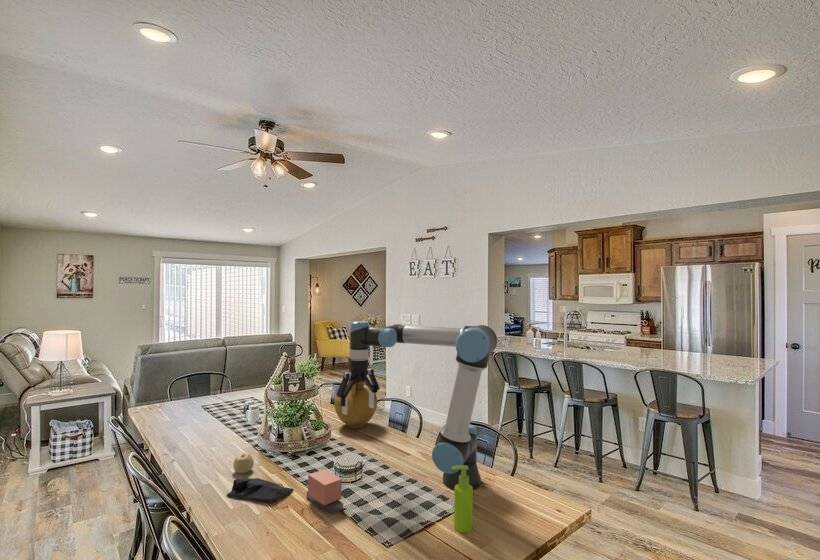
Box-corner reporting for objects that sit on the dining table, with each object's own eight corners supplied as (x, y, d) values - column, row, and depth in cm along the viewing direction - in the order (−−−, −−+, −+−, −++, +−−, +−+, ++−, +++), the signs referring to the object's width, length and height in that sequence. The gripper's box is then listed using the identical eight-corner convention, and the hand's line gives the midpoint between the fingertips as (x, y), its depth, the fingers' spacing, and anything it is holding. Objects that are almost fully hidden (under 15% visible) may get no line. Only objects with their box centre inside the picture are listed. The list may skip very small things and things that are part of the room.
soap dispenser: (449, 523, 144) (450, 462, 144) (470, 522, 144) (470, 462, 145) (452, 533, 138) (453, 470, 138) (474, 532, 139) (474, 469, 139)
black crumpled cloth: (269, 510, 151) (269, 496, 151) (222, 496, 160) (222, 484, 160) (297, 491, 165) (297, 478, 165) (253, 479, 174) (253, 468, 174)
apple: (257, 466, 185) (257, 454, 181) (244, 481, 178) (244, 469, 174) (243, 458, 187) (242, 446, 183) (229, 472, 180) (228, 460, 177)
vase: (375, 433, 228) (375, 376, 228) (329, 432, 228) (330, 375, 228) (378, 419, 251) (379, 367, 252) (337, 418, 252) (338, 367, 252)
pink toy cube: (341, 505, 154) (341, 479, 154) (324, 512, 149) (324, 485, 149) (324, 494, 162) (324, 469, 162) (307, 500, 157) (308, 474, 157)
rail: (343, 509, 151) (343, 503, 151) (330, 514, 148) (330, 508, 148) (318, 492, 163) (318, 487, 163) (306, 497, 160) (306, 491, 160)
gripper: (377, 354, 189) (376, 403, 189) (328, 361, 172) (327, 414, 172) (388, 357, 184) (387, 407, 184) (338, 364, 167) (338, 419, 167)
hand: (358, 410), depth 178 cm, fingers open, 13 cm apart
